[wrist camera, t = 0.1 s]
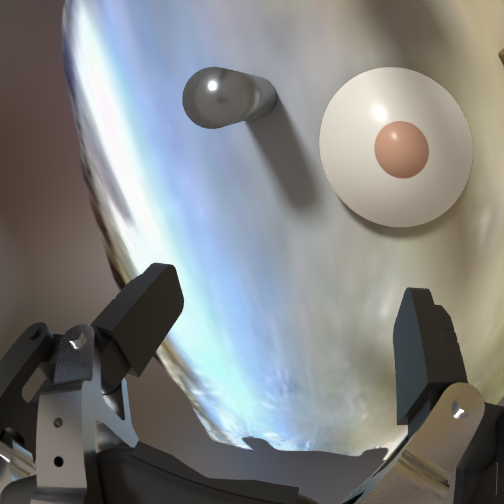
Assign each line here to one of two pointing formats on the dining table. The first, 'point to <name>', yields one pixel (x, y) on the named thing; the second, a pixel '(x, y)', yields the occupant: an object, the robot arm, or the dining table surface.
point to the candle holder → (502, 55)
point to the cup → (226, 97)
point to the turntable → (396, 147)
